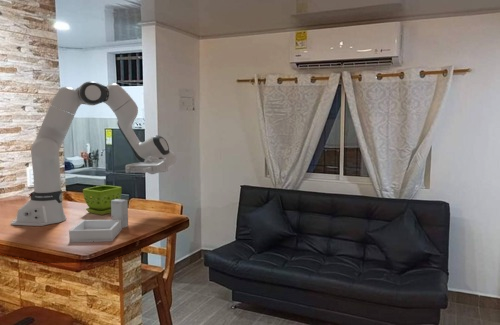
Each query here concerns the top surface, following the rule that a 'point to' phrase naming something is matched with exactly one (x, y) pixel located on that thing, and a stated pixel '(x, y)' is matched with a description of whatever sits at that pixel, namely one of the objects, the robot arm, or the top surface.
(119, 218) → the skincare box
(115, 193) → the flower pot
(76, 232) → the grey square tray
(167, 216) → the top surface
